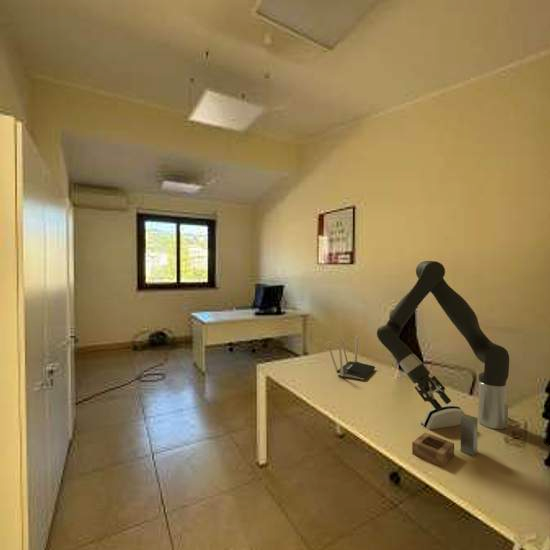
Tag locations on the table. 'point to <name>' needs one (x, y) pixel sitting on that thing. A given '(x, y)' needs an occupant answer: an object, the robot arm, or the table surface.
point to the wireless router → (352, 365)
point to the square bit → (469, 434)
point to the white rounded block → (443, 417)
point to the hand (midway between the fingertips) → (444, 406)
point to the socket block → (433, 449)
